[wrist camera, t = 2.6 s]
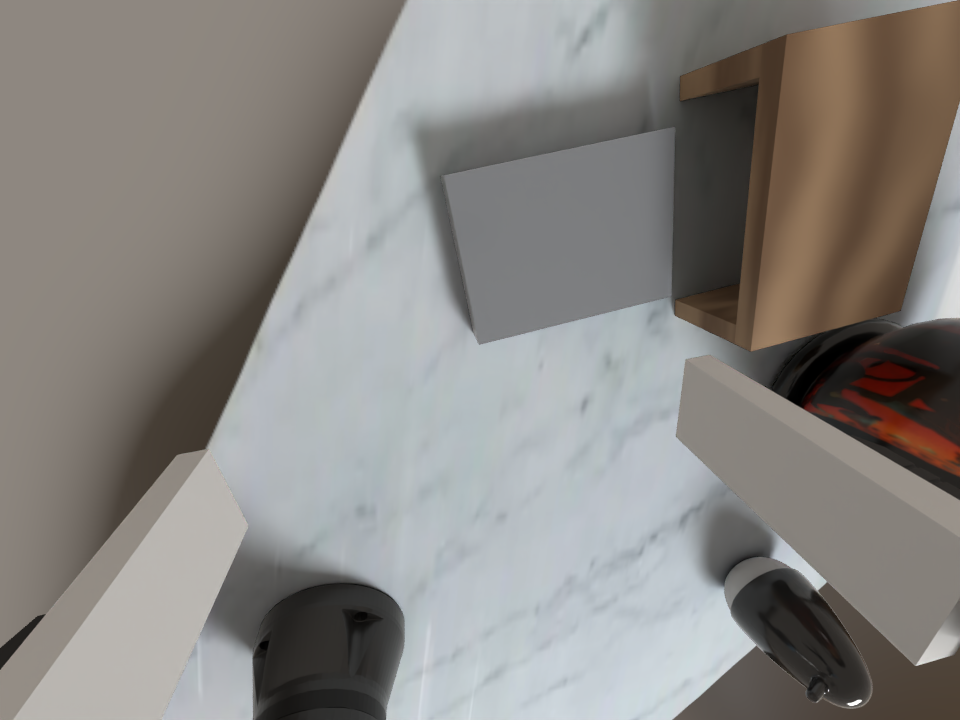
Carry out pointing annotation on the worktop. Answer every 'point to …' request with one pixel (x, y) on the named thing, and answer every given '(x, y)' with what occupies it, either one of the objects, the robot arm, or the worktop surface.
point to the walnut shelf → (834, 171)
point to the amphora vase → (886, 388)
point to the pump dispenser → (797, 631)
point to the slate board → (564, 233)
